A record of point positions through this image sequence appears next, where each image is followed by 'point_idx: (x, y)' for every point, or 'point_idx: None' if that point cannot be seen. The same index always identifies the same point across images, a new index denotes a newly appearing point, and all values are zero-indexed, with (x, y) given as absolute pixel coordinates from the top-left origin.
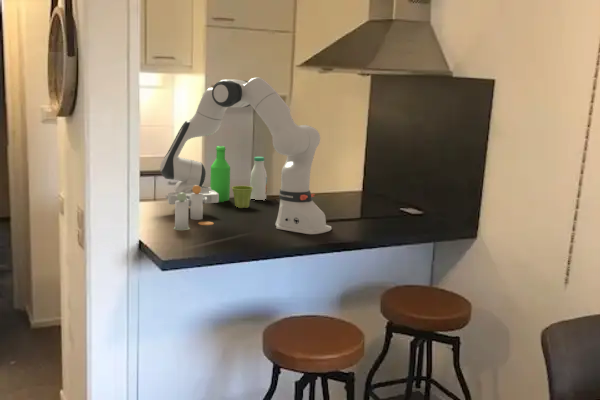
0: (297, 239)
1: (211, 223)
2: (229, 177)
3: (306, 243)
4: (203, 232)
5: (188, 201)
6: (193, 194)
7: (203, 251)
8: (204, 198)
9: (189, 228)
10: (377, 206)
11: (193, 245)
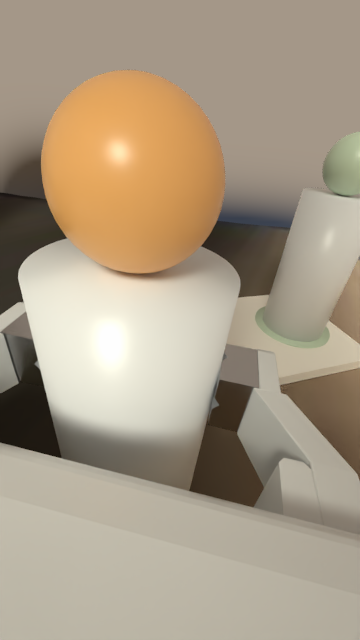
0: (29, 213)
1: None
2: None
3: (44, 204)
4: None
5: (303, 189)
6: (205, 259)
7: (255, 233)
8: (10, 325)
9: (258, 311)
10: None
11: (269, 250)
